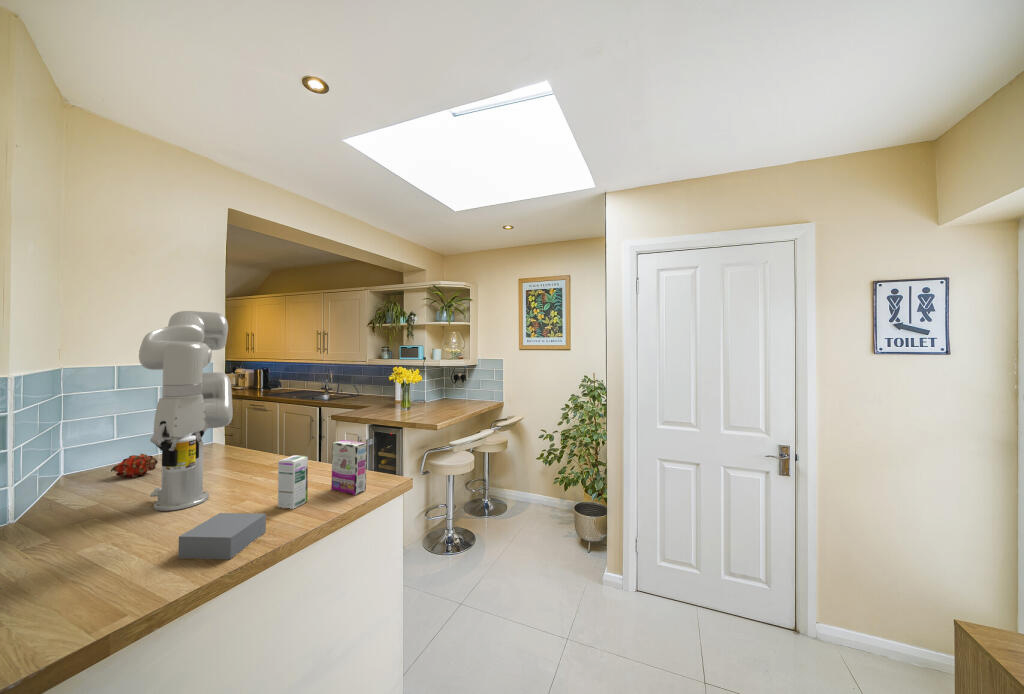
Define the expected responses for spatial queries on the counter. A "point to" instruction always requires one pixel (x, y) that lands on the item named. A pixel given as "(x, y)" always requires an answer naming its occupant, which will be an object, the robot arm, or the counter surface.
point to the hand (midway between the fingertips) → (181, 461)
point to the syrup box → (292, 481)
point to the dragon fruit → (135, 466)
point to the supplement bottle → (184, 453)
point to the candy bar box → (349, 467)
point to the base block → (221, 536)
